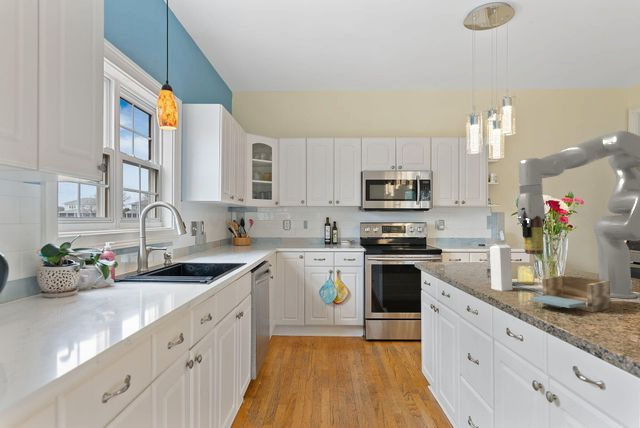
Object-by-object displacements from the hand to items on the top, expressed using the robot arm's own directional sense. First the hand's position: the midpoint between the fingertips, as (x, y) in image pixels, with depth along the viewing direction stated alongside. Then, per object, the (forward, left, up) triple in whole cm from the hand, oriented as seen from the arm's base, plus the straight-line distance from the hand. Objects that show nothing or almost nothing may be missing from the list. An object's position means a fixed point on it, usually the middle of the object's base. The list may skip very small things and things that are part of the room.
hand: (533, 236), depth 131 cm
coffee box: (-18, -28, -25) cm, 42 cm away
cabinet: (-4, +12, -24) cm, 27 cm away
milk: (-7, -19, -25) cm, 32 cm away
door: (+7, +12, -23) cm, 27 cm away
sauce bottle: (0, 0, -7) cm, 7 cm away
